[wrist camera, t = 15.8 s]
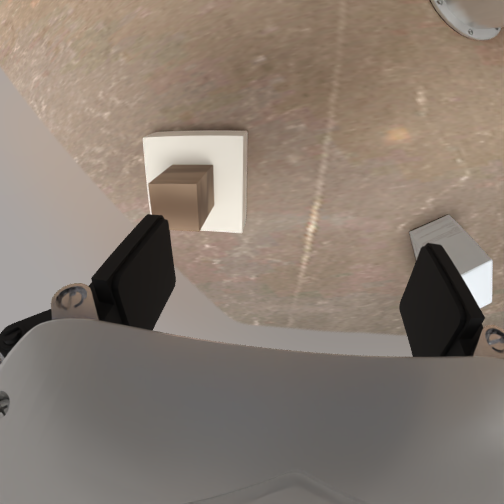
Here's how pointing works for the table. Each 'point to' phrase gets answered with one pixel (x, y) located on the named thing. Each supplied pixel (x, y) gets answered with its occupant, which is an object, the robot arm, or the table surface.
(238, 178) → the base
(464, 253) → the supplement box
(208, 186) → the walnut block
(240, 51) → the table surface
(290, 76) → the table surface
